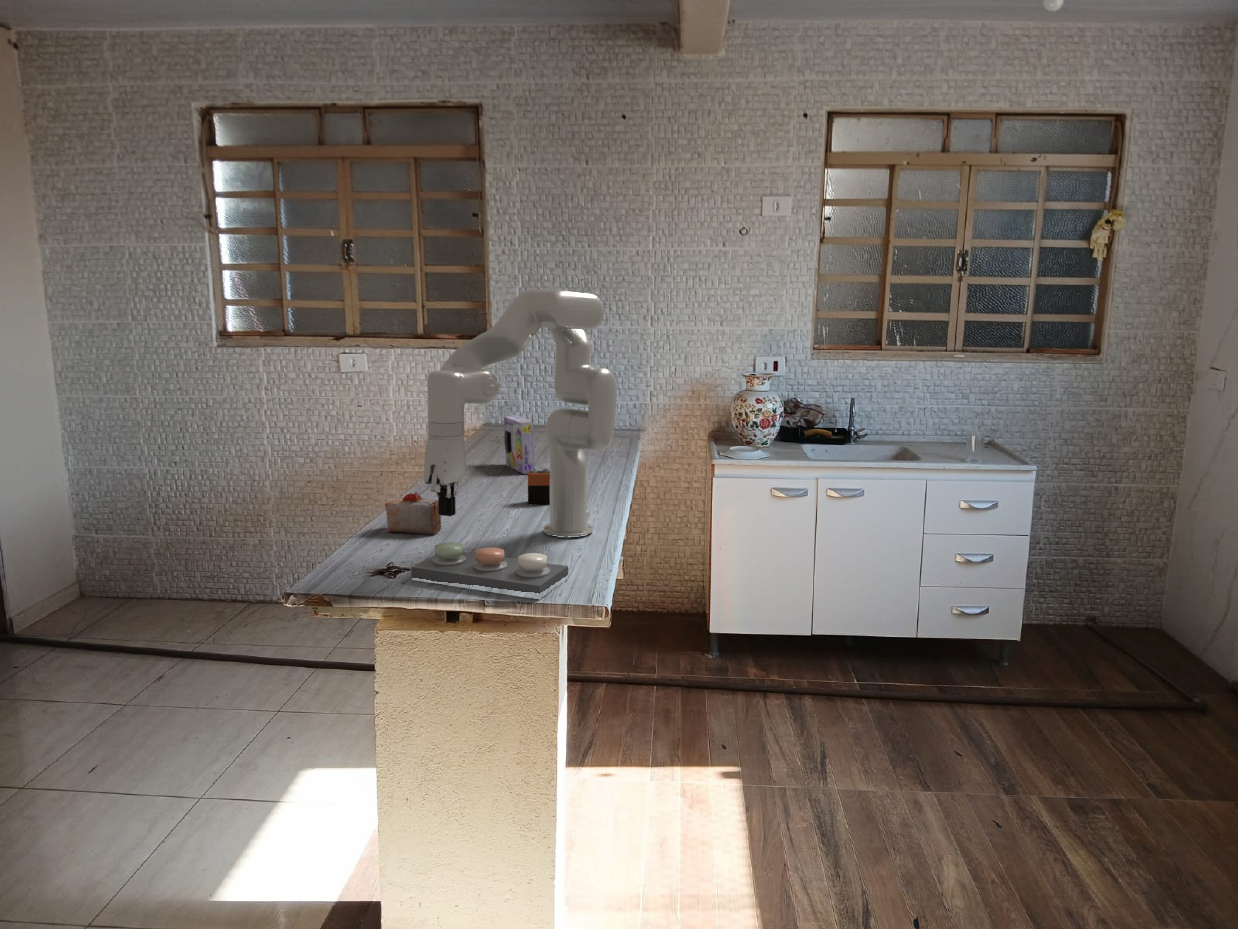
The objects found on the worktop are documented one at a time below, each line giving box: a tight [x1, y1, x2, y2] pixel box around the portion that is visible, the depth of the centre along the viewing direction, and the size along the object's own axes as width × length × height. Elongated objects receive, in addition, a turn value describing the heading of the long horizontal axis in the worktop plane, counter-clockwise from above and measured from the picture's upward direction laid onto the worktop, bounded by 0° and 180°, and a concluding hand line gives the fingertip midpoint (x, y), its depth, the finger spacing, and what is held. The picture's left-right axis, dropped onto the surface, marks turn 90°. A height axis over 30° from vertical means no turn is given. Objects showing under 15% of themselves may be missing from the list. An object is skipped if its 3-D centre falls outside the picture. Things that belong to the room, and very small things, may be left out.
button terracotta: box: [475, 547, 505, 564], centre depth 190 cm, size 6×6×2 cm
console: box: [410, 551, 569, 594], centre depth 190 cm, size 14×30×4 cm, turn 69°
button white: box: [517, 552, 548, 570], centre depth 186 cm, size 6×6×2 cm
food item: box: [384, 491, 442, 535], centre depth 226 cm, size 14×8×10 cm, turn 82°
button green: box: [434, 541, 464, 558], centre depth 193 cm, size 6×6×2 cm
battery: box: [527, 467, 550, 505], centre depth 257 cm, size 4×7×10 cm, turn 97°
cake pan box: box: [503, 414, 536, 475], centre depth 303 cm, size 19×5×18 cm, turn 25°
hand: (447, 514), depth 191 cm, fingers closed
